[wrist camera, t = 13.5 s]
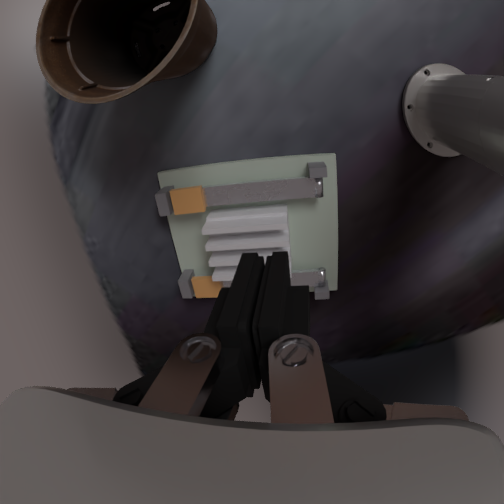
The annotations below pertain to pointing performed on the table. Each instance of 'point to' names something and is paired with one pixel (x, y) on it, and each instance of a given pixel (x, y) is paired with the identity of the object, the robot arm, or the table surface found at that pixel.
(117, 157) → the table surface
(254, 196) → the strap
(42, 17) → the plant pot
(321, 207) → the cooler board
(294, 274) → the strap
